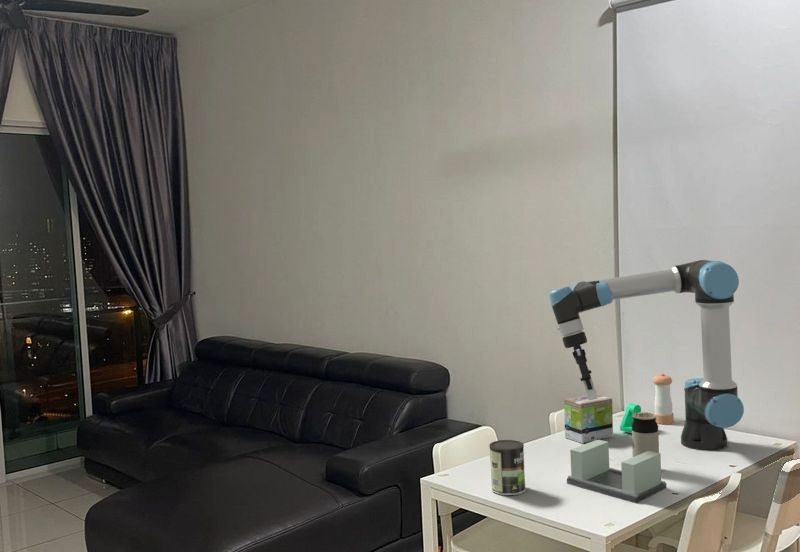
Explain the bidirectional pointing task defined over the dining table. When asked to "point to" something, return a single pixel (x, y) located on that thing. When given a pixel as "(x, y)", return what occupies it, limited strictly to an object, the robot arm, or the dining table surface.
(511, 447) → the coffee can
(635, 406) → the camera mount
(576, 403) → the tea box
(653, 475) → the grey block holder
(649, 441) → the travel mug
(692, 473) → the dining table surface
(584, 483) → the rail plate
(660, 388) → the pepper shaker
